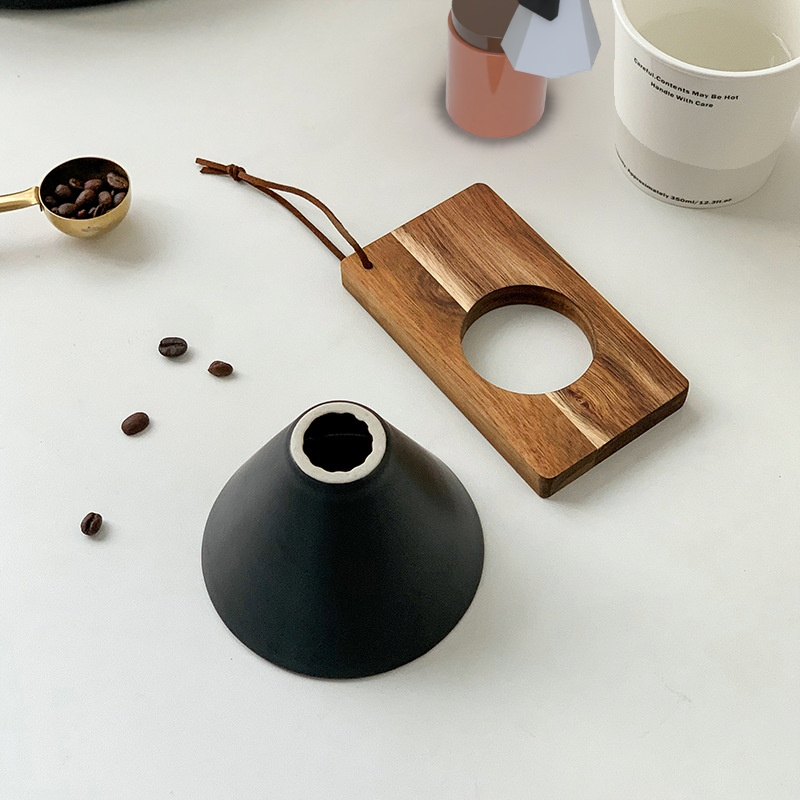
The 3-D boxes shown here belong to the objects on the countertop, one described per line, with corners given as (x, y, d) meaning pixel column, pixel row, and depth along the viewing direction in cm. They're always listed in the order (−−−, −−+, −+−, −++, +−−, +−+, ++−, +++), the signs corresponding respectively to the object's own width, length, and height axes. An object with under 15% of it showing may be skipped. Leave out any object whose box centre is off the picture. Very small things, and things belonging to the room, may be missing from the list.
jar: (525, 67, 112) (535, -39, 103) (557, 132, 107) (571, 28, 98) (433, 86, 111) (434, -19, 101) (462, 153, 106) (466, 49, 97)
